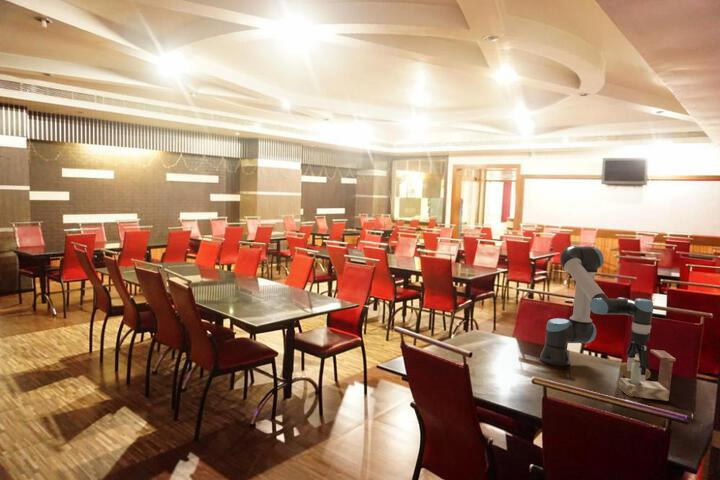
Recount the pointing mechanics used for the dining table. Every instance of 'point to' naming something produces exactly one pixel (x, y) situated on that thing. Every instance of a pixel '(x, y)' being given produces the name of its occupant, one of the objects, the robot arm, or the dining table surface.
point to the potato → (628, 373)
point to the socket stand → (650, 387)
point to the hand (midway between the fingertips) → (635, 376)
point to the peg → (635, 374)
